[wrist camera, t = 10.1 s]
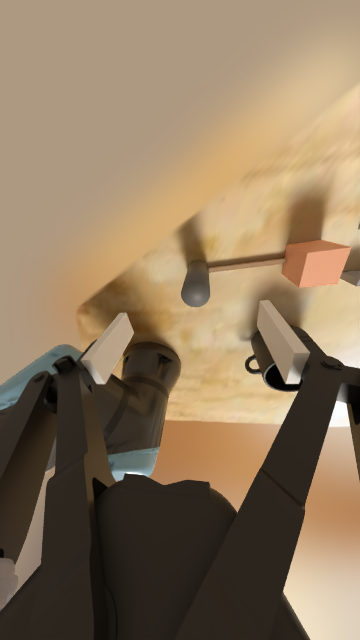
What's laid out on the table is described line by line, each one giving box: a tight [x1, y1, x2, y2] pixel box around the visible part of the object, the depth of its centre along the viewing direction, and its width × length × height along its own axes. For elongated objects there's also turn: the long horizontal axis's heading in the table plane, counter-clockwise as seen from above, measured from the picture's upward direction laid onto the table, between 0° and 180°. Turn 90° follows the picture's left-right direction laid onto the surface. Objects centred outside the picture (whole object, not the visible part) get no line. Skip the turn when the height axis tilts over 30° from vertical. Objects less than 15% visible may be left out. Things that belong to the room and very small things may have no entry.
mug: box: [245, 325, 303, 392], centre depth 31 cm, size 9×12×9 cm
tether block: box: [181, 240, 352, 307], centre depth 23 cm, size 20×4×10 cm, turn 99°
